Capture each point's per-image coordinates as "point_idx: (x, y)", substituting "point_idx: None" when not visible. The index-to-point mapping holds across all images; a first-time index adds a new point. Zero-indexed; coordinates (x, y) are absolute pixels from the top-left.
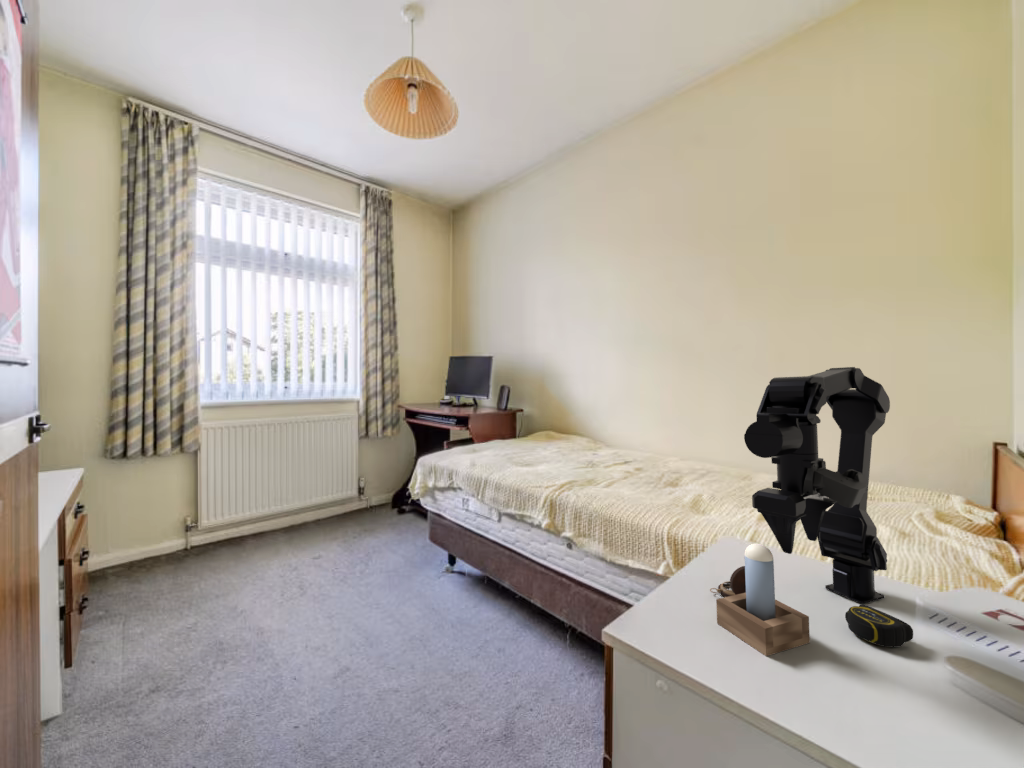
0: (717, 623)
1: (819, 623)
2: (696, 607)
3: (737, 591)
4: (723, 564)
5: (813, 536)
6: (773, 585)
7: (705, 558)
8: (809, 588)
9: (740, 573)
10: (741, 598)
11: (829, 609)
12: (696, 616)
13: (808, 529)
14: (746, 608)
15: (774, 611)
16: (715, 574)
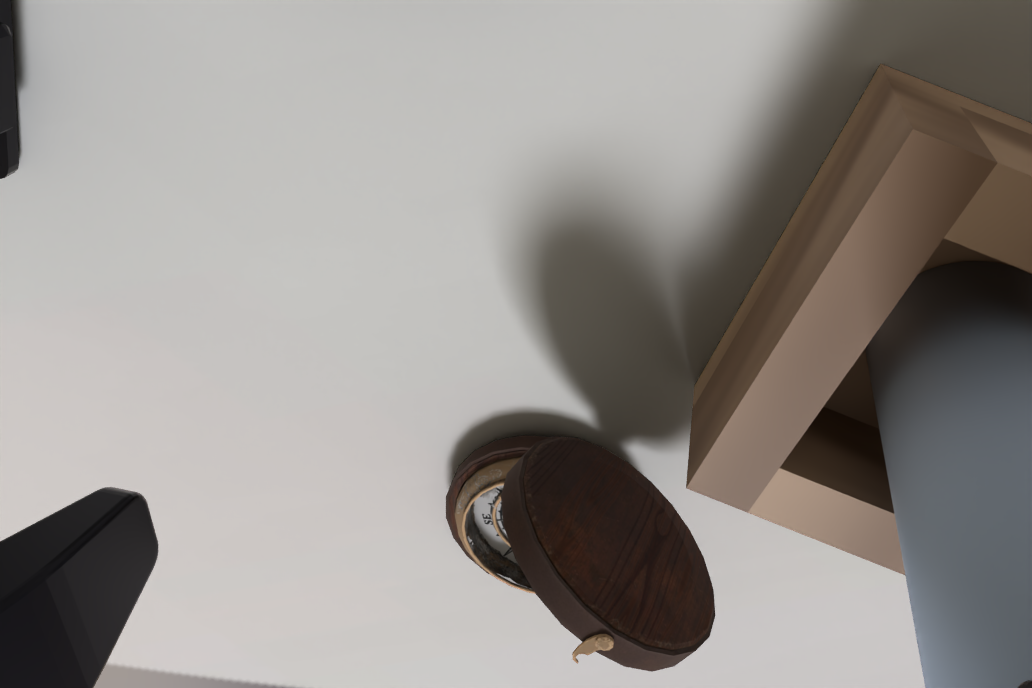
0: None
1: (529, 84)
2: (880, 614)
3: (691, 543)
4: (252, 612)
5: (102, 553)
6: None
7: (267, 678)
8: (101, 241)
9: (675, 634)
10: None
11: (270, 84)
12: None
13: (55, 681)
14: (882, 461)
15: (1022, 341)
16: (402, 618)
